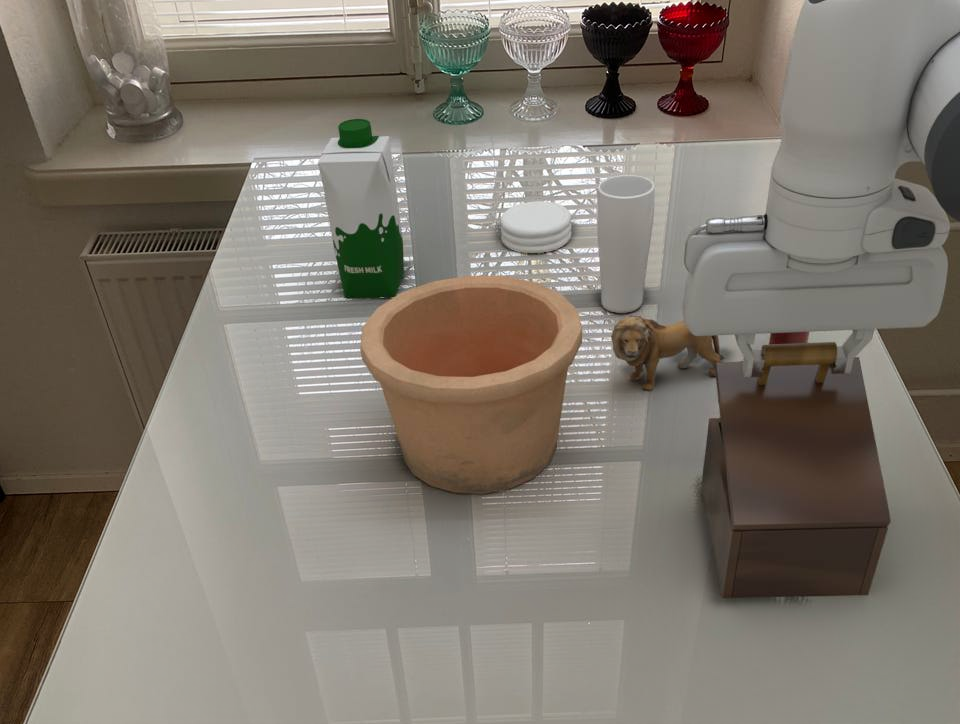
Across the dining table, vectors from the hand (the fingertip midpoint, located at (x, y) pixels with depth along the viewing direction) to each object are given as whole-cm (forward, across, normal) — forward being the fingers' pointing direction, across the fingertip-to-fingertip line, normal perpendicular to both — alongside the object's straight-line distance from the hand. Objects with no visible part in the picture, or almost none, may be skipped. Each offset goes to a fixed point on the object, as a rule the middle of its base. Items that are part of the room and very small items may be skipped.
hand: (795, 372), depth 86 cm
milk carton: (+16, -45, +50) cm, 69 cm away
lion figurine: (+16, -8, +24) cm, 30 cm away
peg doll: (+16, +6, +27) cm, 32 cm away
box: (+16, 0, -5) cm, 16 cm away
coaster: (+16, -23, +62) cm, 68 cm away
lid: (+4, 0, -5) cm, 6 cm away
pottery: (+16, -29, +12) cm, 35 cm away
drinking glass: (+16, -12, +42) cm, 47 cm away
